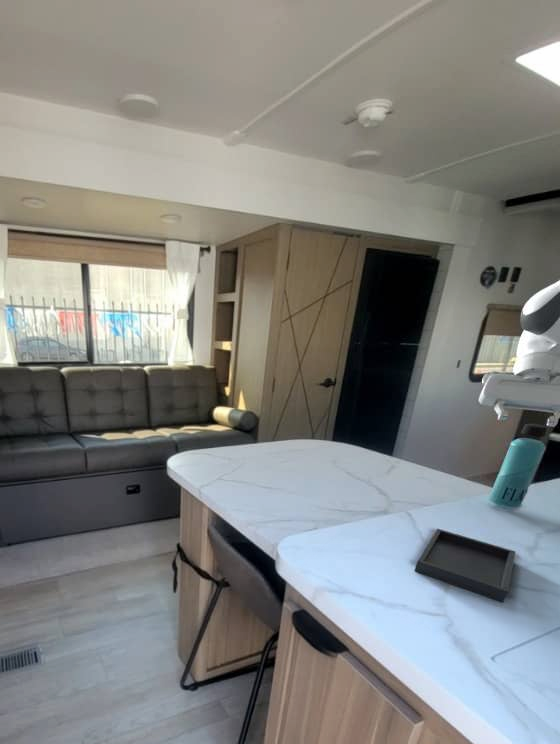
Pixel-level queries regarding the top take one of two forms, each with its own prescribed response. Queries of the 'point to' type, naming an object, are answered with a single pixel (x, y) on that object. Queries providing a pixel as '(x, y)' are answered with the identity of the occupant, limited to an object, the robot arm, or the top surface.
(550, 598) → the top surface
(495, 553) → the tray
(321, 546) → the top surface
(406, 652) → the top surface
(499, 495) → the beverage bottle
